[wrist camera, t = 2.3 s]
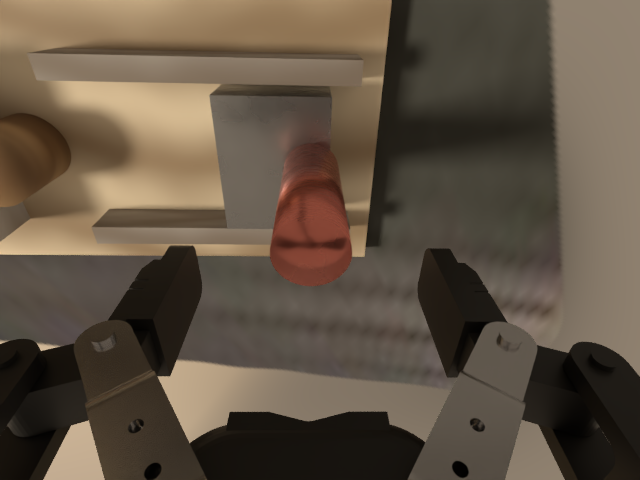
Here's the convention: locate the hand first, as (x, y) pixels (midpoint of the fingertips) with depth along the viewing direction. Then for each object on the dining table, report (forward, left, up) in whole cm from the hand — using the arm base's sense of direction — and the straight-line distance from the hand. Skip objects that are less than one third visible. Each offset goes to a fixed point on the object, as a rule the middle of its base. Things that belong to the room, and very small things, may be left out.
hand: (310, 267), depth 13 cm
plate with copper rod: (0, -2, -12) cm, 12 cm away
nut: (0, -17, -12) cm, 20 cm away
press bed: (0, -10, -13) cm, 16 cm away
